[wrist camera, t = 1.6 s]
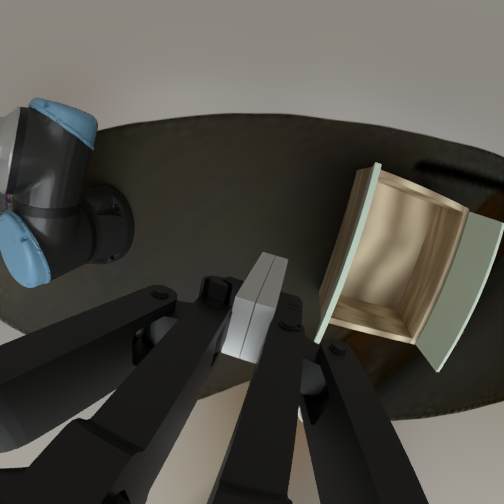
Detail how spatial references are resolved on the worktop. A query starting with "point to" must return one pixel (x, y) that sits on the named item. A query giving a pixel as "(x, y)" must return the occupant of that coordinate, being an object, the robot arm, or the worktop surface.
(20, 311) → the worktop surface
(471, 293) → the flap
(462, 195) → the worktop surface
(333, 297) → the flap
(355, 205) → the box
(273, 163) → the worktop surface
